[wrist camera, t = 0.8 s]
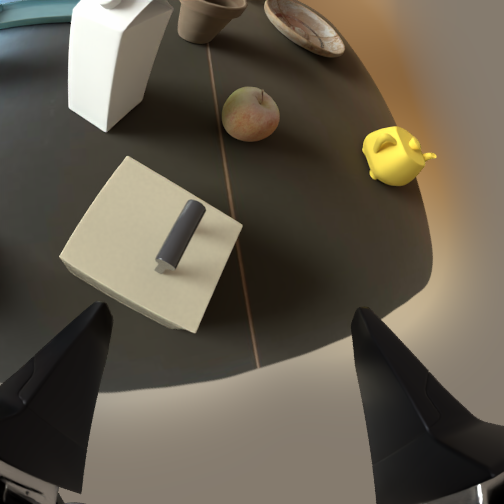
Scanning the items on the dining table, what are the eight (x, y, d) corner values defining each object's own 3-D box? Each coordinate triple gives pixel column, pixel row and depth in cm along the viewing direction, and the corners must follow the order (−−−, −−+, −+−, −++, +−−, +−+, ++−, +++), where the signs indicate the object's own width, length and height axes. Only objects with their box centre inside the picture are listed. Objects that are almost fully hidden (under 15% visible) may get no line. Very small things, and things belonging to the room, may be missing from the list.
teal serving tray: (111, 4, 33) (114, -6, 31) (99, 25, 31) (101, 14, 29) (0, 12, 21) (0, 3, 19) (-21, 37, 19) (-22, 27, 17)
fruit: (203, 125, 35) (227, 85, 28) (232, 102, 39) (257, 66, 32) (245, 161, 37) (277, 127, 30) (270, 134, 40) (301, 102, 33)
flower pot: (182, 14, 40) (201, -25, 31) (231, 36, 44) (256, -1, 35) (151, 35, 35) (169, -12, 27) (208, 60, 39) (234, 15, 30)
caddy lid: (239, 227, 27) (267, 207, 23) (193, 333, 23) (214, 334, 18) (126, 159, 23) (133, 124, 19) (60, 259, 19) (47, 240, 14)
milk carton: (105, 79, 30) (134, -42, 14) (142, 101, 32) (188, -23, 16) (68, 108, 27) (77, -25, 10) (106, 134, 29) (133, -8, 12)
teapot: (394, 154, 58) (429, 133, 49) (408, 197, 56) (447, 179, 47) (342, 132, 50) (382, 103, 40) (358, 183, 47) (404, 157, 38)
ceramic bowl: (255, 36, 47) (267, 20, 43) (256, 0, 54) (265, -13, 49) (341, 79, 57) (355, 67, 53) (326, 34, 64) (336, 24, 59)
